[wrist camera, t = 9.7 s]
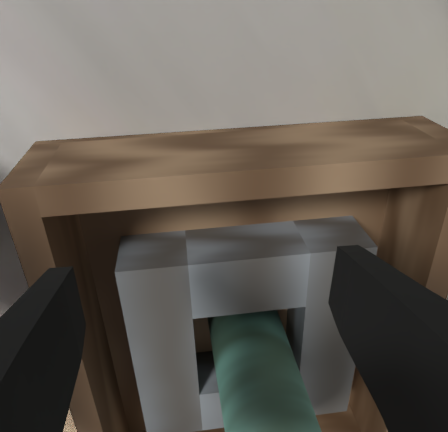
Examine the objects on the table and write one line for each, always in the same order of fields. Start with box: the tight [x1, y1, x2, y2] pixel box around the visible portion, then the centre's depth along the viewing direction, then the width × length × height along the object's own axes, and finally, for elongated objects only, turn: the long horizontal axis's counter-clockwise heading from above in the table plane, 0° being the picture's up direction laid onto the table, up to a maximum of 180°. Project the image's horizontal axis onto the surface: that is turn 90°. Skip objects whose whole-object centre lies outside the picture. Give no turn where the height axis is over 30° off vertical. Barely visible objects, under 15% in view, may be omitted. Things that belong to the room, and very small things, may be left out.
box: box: [0, 116, 448, 432], centre depth 22 cm, size 18×22×5 cm
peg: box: [207, 310, 322, 432], centre depth 20 cm, size 4×4×8 cm
